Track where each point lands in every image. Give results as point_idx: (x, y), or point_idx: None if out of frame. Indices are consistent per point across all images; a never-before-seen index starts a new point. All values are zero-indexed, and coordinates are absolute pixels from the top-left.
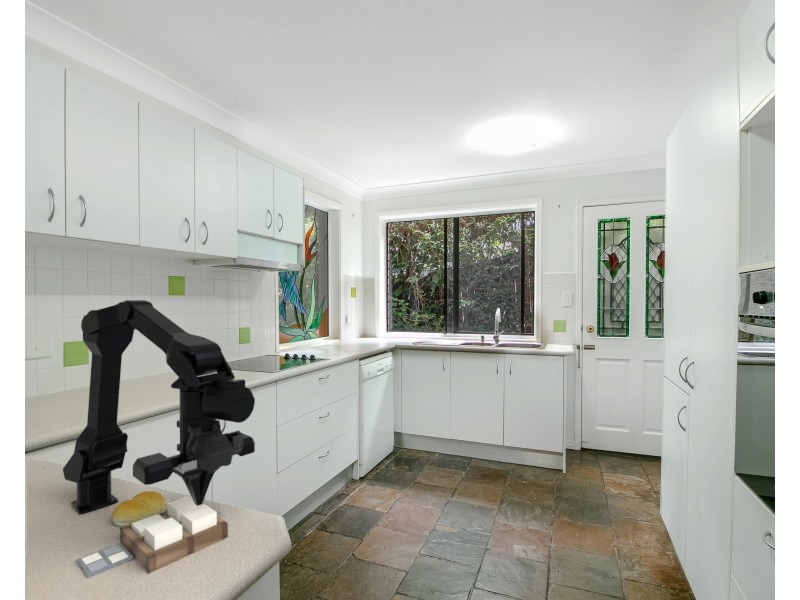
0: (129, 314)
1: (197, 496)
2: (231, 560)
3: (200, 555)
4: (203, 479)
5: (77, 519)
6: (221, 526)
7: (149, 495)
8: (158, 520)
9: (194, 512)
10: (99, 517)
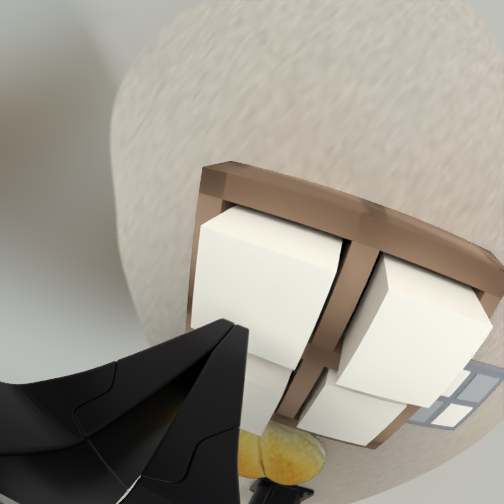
0: None
1: (229, 367)
2: (325, 31)
3: (363, 160)
4: (113, 432)
5: (326, 487)
6: (232, 172)
7: (242, 466)
8: (328, 409)
9: (259, 327)
10: None
